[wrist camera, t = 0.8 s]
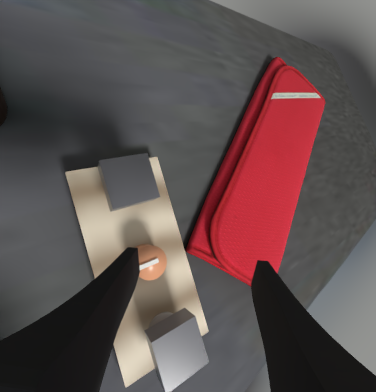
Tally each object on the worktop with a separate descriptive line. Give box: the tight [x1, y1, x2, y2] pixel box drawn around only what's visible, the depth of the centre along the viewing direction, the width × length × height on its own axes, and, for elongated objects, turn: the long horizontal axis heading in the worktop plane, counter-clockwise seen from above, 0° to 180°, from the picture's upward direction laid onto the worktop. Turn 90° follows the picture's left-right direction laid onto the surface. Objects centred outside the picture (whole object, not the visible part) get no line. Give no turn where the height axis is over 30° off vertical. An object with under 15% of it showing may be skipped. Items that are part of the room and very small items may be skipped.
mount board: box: [65, 157, 209, 387], centre depth 23 cm, size 22×10×3 cm, turn 18°
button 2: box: [98, 153, 160, 212], centre depth 19 cm, size 4×4×2 cm
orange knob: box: [135, 244, 167, 280], centre depth 21 cm, size 3×3×3 cm
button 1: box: [144, 308, 209, 392], centre depth 19 cm, size 4×4×2 cm
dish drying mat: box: [186, 57, 325, 286], centre depth 35 cm, size 16×41×4 cm, turn 152°
